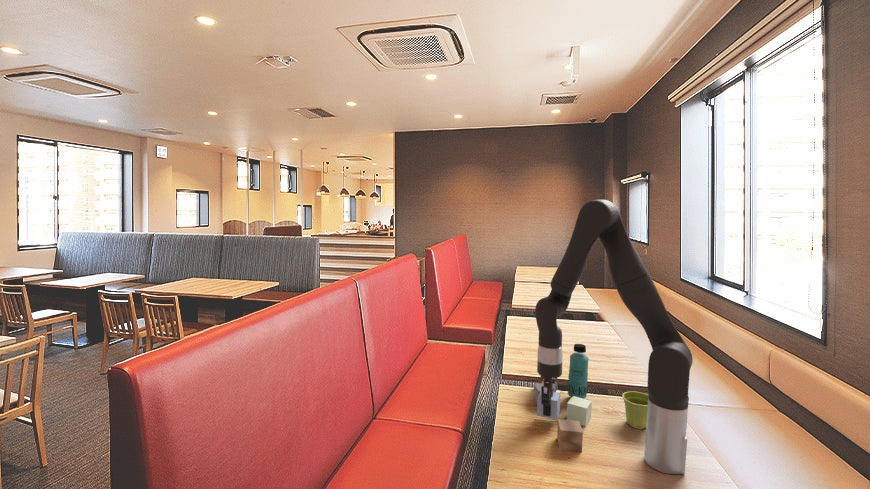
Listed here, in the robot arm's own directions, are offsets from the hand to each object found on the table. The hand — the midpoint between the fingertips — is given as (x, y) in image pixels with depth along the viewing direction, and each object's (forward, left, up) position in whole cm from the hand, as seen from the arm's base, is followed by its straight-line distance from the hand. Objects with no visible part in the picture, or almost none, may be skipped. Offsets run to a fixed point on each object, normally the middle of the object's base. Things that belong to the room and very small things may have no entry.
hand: (548, 410), depth 131 cm
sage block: (-9, -6, -4) cm, 11 cm away
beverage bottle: (-7, -20, -4) cm, 22 cm away
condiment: (+4, -22, -4) cm, 23 cm away
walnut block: (-8, +10, -4) cm, 13 cm away
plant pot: (-26, -11, -4) cm, 28 cm away
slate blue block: (0, 0, -1) cm, 1 cm away
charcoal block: (+3, -12, -4) cm, 13 cm away
